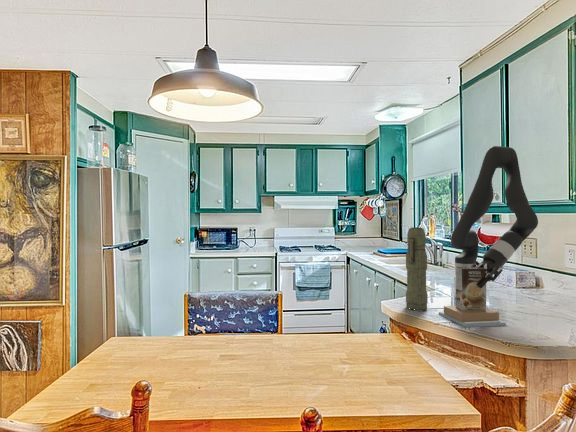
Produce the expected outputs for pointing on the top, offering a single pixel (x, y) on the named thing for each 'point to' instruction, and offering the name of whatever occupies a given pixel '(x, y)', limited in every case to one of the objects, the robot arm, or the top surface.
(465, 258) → the robot arm
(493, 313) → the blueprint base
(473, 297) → the coffee box
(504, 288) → the top surface
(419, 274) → the thermos
